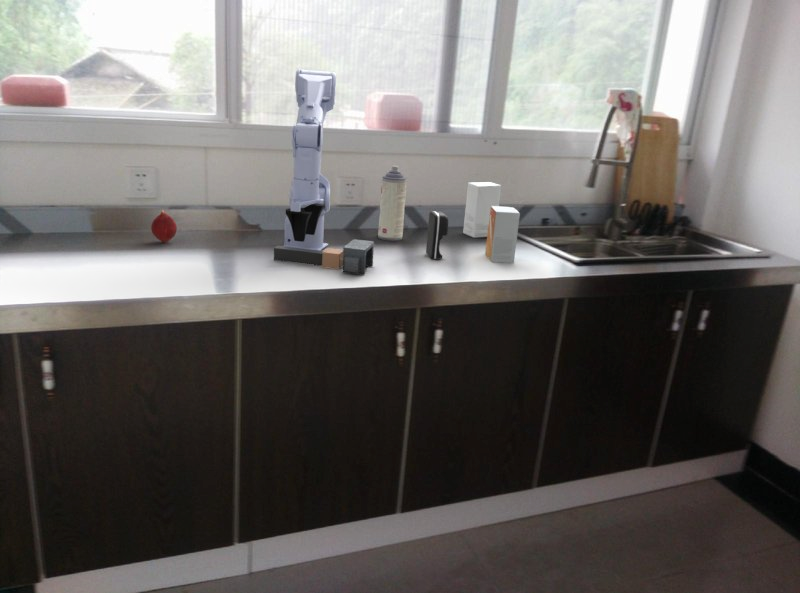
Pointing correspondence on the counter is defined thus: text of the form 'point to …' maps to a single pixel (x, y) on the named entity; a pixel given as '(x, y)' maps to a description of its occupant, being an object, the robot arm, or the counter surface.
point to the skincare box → (480, 207)
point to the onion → (164, 227)
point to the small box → (502, 234)
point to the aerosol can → (392, 205)
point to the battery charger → (436, 233)
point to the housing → (357, 256)
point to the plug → (310, 256)
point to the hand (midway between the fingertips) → (304, 237)
